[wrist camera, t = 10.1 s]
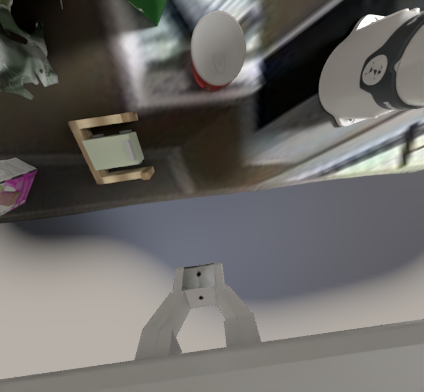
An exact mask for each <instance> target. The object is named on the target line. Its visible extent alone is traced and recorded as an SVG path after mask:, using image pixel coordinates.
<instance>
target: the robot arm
mask: <svg viewBox="0 0 424 392" xmlns="http://www.w3.org/2000/svg"><path fill="white" fill-rule="evenodd" d="M419 11H420V8H415V9H411V10H409V9H403V10H401V11H398V12H396V13H394V14H391V15H389V16H387V17H384V16H377V15H367V16H364V17H362V18H361V19H360V20H359V21H358V22H357V24H356V25H355V27H354V29H353V30H352V32H351V33H350V35H349V36H348V37H347V38H346V39H345V40H344V41H343V42H341V43H340V44H339V45H338V46H337V47H336V48H335V50H334V51H333V52H332V53H331V55H330V56H329V58H328V60H327V61H326V63H325V65H324V67H323V70H322V73H321V76H320V81H319V97H320V101H321V104H322V106H323V107H324V109H325V110H326V111H327V112H329V113H330V114H331V115H333V116H334V117H335V119H336V122H337V124H338V125H339V126H341V127H342V126H348V125H351V124H354V123H356V122H359V121H362V120H365V119H374V118H377V117H378V116H380V115H383V114H386V113H388V112H391V111H393V110H410V109H418V108H422V107H424V11H422V12H420V13H419ZM370 23H371V24H370ZM349 119H350V120H349ZM213 305H217V307H218V308H219V310H220V311H221V313H222V314H223V316H224V317H225V321H224V326H225V336H226V346H227V347H224V348H218V349H210V350H203V351H197V352H189V353H182V354H181V352H182V350H181V348H180V346H179V344H178V341H177V339H176V336H177V334H178V332H179V330H180V328H181V326H182V324H183V322H184V321H185V319H186V317H187V315H188V313H189V311H190V309H193V308H198V307H204V306H213ZM0 392H424V319H421V320H415V321H408V322H401V323H393V324H386V325H380V326H372V327H365V328H358V329H351V330H344V331H337V332H330V333H323V334H316V335H310V336H302V337H296V338H288V339H281V340H274V341H267V342H261V340H260V336H259V333H258V329H257V325H256V321H255V317H254V314H253V313H252V312H251V311H250V310H249V308H248V307H247V306H246V305H245V304H244V303H243V302H242V301H241V300H240V298H239V297H238V296H237V295H236V294H235V293H234V292H233V291H232V290H231V288H230V287H229V286H228V285H225V282H224V275H223V269H222V263H221V262H220V263H211V264H205V265H199V266H191V267H183V268H177V269H176V272H175V278H174V285H173V292H172V293H170V294H169V295H168V297H167V298H166V299H165V300H164V302H163V303H162V304H161V306H160V307H159V308H158V310H157V311H156V312H155V314H154V315H153V316H152V318H151V319H150V320H149V322H148V323H147V324H146V326H145V327H144V328H143V330H142V333H141V337H140V341H139V345H138V348H137V352H136V357H135V360H133V361H126V362H120V363H112V364H105V365H98V366H91V367H85V368H77V369H70V370H63V371H57V372H49V373H42V374H35V375H28V376H21V377H14V378H7V379H1V380H0Z"/></svg>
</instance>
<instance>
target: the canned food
mask: <svg viewBox="0 0 424 392" xmlns="http://www.w3.org/2000/svg"><path fill="white" fill-rule="evenodd" d="M245 54H246V43H245V37H244V34H243V31H242V28H241V27H240V25H239V23H238V22H237V21H236V19H235V18H234V17H233V16H231V15H230V14H228V13H226V12H224V11H212V12H210V13H207V14H206V15H205V16H203V17H202V18H201V19H200V21H199V22H198V23H197V25H196V27H195V29H194V32H193V35H192V40H191V60H192V69H193V74H194V77H195V79H196V81H197V83H198V84H199V85H200V86H201V87H202V88H203V89H204V90H206V91H209V92H217V91H220V90H221V89H223V88H224V87H225V86H227V85H228V84H229V83H230V82H232V81H233V80H234V79H235V78H236V77H237V75H238V74H239V72H240V70H241V68H242V66H243V63H244V60H245Z"/></svg>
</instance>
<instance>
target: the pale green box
mask: <svg viewBox="0 0 424 392" xmlns="http://www.w3.org/2000/svg"><path fill="white" fill-rule="evenodd" d="M119 132H120V134H117V135H110V136H104V134H96V135H91V139H88V140H84V141H82V143H83V145H84V147H85V149H86V151H87V153H88V155H89V158H90V160H91V162H92V164H93V166H94V168H95V170H103V169H106V170H107V169H112V168H116V167H123V166H129V165H139V164H141V163H142V160H143V159H144V156H143V153H142V150H141V147H140V144H139V141H138V138H137V135H136V132H132V129H130V130H123V131H119Z"/></svg>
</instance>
